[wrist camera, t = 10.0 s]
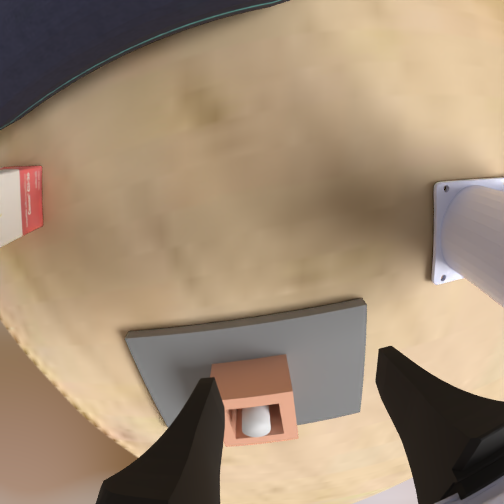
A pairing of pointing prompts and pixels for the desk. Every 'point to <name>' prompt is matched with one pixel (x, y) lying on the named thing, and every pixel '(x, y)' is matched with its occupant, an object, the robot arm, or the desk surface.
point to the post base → (259, 346)
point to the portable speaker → (86, 39)
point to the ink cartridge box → (20, 201)
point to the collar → (256, 397)
